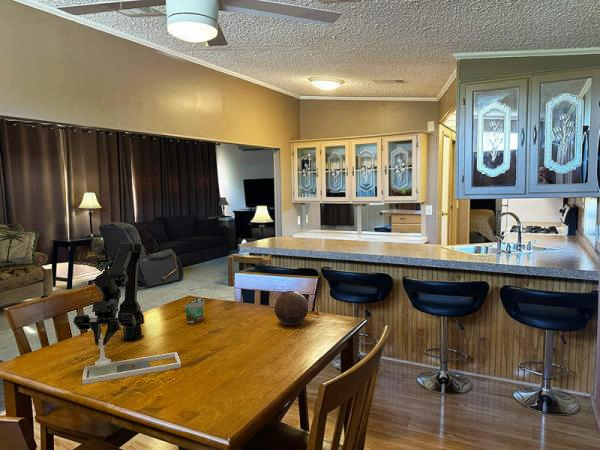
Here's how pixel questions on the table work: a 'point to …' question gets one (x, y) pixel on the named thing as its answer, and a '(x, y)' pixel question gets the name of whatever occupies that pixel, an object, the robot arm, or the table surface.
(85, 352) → the table surface
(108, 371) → the pad
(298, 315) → the wooden sphere
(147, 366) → the trap box
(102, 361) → the chess piece
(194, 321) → the food container
